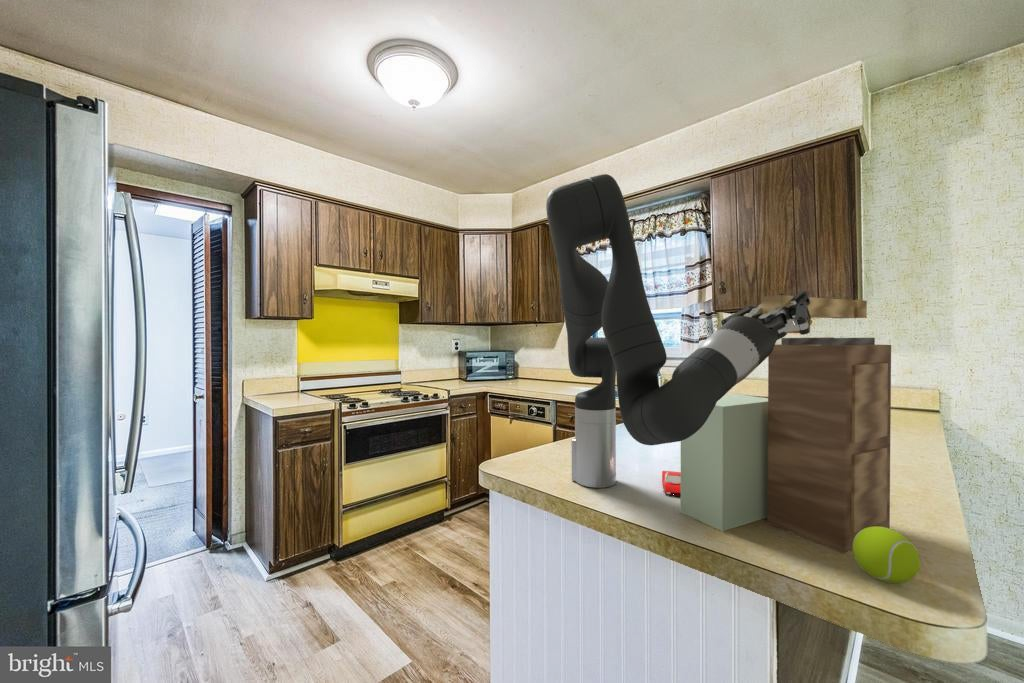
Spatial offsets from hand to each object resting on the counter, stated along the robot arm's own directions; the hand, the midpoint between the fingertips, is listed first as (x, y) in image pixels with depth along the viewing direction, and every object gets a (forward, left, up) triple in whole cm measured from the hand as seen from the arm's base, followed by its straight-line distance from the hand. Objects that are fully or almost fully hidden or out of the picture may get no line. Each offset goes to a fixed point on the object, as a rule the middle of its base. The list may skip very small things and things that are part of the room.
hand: (793, 297), depth 69 cm
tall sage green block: (-10, +6, -40) cm, 42 cm away
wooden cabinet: (+4, +9, -40) cm, 41 cm away
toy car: (-23, +13, -40) cm, 48 cm away
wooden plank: (+3, +6, -3) cm, 7 cm away
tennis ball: (+11, -5, -40) cm, 42 cm away
